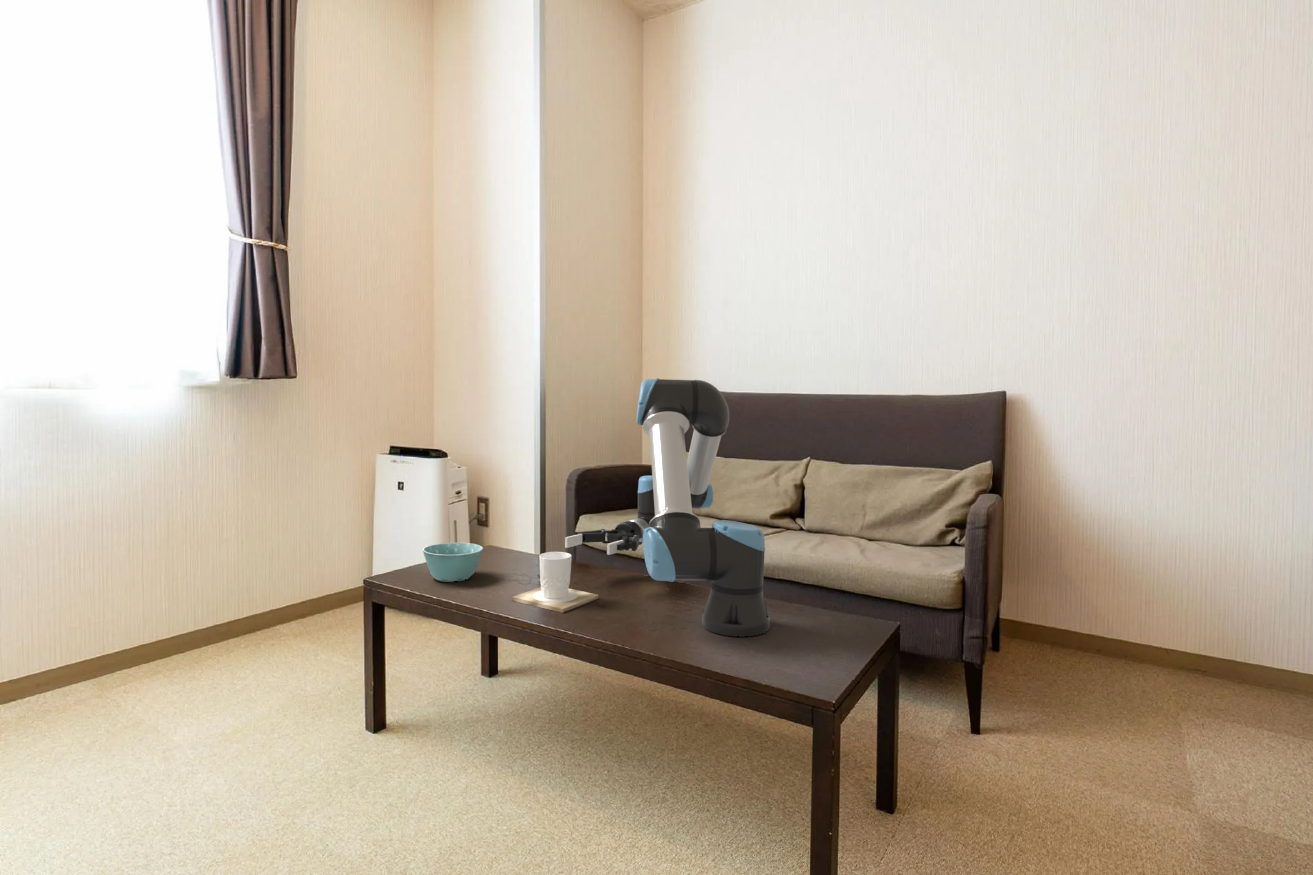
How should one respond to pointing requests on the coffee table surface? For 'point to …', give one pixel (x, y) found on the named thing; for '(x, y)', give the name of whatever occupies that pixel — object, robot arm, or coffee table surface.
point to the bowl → (452, 560)
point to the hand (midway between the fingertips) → (586, 545)
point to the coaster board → (555, 600)
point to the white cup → (555, 574)
